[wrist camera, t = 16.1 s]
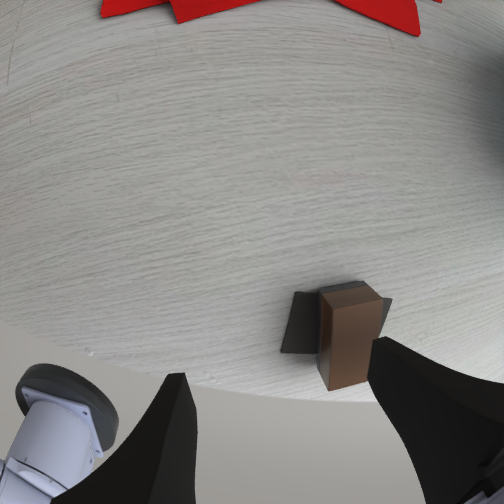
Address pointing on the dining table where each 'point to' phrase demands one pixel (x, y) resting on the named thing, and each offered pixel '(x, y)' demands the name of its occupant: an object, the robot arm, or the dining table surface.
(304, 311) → the dark grey flat slab
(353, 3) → the cloth
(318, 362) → the eraser
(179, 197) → the dining table surface
